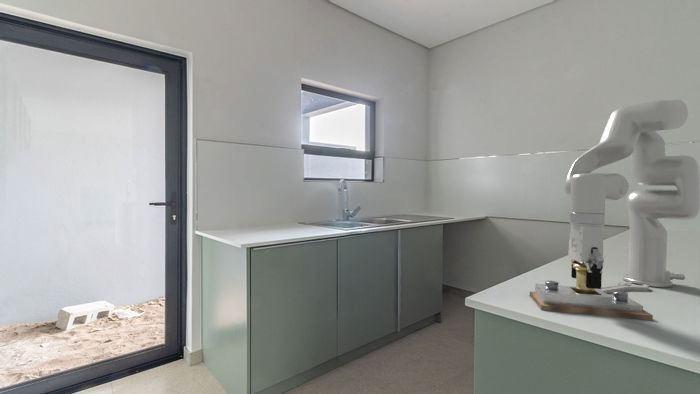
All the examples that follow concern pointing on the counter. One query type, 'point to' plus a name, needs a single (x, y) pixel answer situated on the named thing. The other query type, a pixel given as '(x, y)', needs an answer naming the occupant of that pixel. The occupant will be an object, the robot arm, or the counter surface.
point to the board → (591, 310)
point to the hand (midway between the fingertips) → (585, 282)
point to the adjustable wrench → (625, 287)
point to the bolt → (582, 279)
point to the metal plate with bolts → (584, 297)
